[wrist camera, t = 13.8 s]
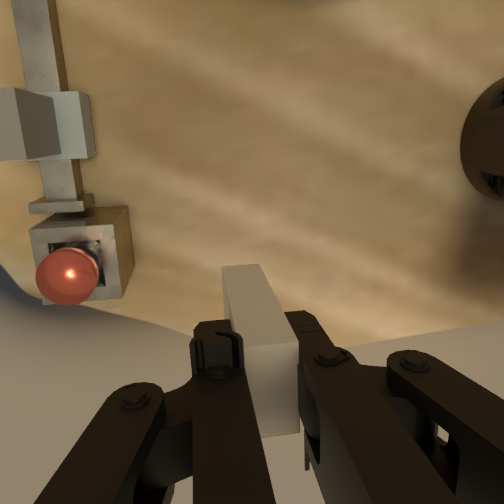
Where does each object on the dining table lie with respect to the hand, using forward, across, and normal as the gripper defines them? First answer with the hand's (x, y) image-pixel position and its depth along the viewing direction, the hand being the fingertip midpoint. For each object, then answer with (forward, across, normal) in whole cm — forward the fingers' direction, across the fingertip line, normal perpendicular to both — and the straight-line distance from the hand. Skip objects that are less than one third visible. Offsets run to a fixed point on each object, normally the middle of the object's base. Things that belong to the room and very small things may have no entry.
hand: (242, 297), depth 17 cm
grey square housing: (+32, +13, +4) cm, 35 cm away
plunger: (+25, +13, +4) cm, 29 cm away
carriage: (+32, +15, -8) cm, 36 cm away
